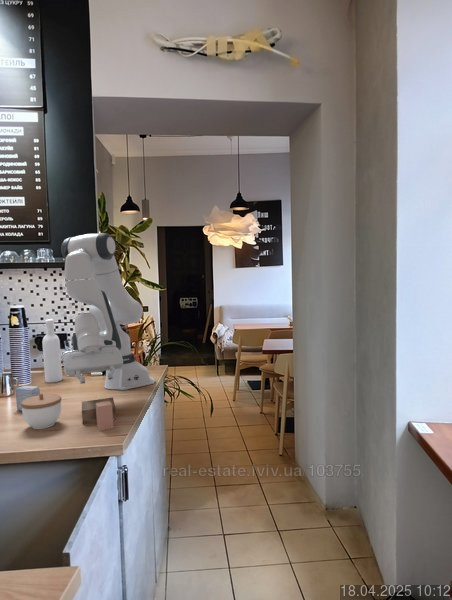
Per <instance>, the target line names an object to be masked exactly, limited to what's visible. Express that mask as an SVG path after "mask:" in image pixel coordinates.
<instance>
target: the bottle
mask: <svg viewBox="0 0 452 600" xmlns="http://www.w3.org/2000/svg"><path fill="white" fill-rule="evenodd" d="M45 333H46V334H45V335H44V336H43V338H42V341H41V343H42V345H41V346H42V354H43V367H44V368H43V370H44V382H45V383H50V384H51V383H57V382H58V383H59V382H61V381H62V380H63V367H62V357H61V356H62V354H61V342H60V338H59V336H58V335H57V334H56V333H55V320H54V319H53V318H50V319H45Z"/></svg>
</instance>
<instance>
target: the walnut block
mask: <svg viewBox="0 0 452 600" xmlns="http://www.w3.org/2000/svg"><path fill="white" fill-rule="evenodd" d="M105 401H110V402H111V404H112V412H113V419H114V420H116V419H117V416H116V415H117V413H116V412H117V411H116V404H115V401H114V397H105V398H99V399H90V400H84V401H81V417H82V419H81V420H82V425H87V423H88V424H94V423H97V417H96V403H99V402H105ZM93 422H94V423H93Z"/></svg>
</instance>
